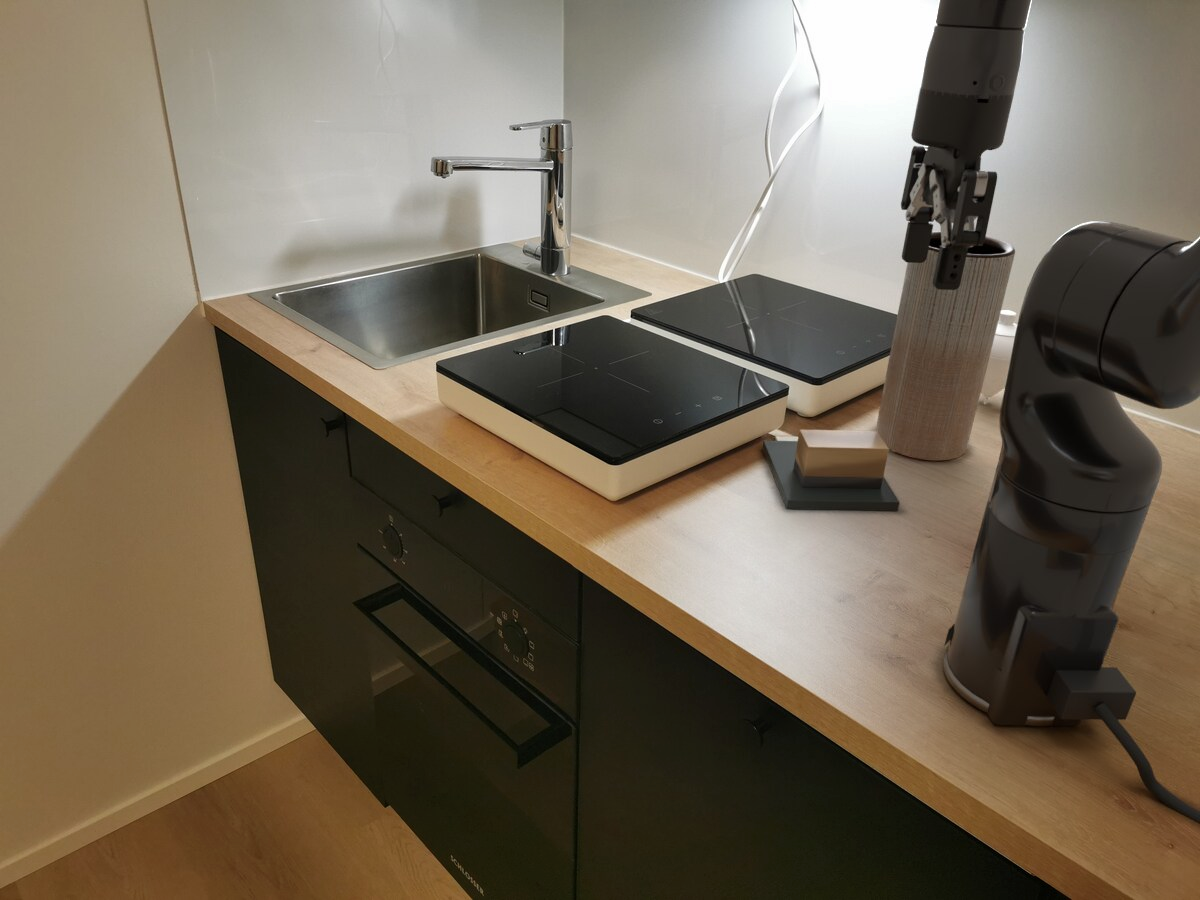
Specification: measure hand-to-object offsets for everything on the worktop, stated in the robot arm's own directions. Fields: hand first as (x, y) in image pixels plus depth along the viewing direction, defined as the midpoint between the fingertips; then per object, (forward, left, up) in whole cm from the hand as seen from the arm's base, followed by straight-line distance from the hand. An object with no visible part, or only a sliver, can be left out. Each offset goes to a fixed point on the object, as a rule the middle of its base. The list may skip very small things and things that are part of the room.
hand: (928, 274), depth 84 cm
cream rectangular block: (+9, +8, -22) cm, 25 cm away
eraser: (-1, +5, -21) cm, 22 cm away
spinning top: (+21, -19, -22) cm, 36 cm away
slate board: (+1, +6, -22) cm, 23 cm away
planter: (+10, -7, -22) cm, 25 cm away
